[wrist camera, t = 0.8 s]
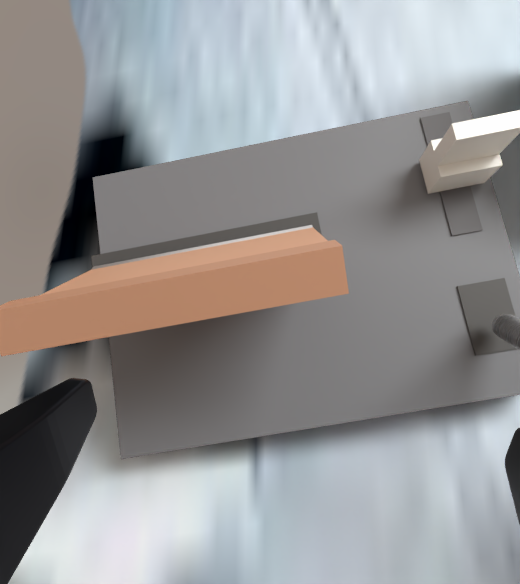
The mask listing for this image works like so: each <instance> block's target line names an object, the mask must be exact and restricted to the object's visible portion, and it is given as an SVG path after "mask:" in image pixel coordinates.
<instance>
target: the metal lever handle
mask: <svg viewBox="0 0 520 584" xmlns="http://www.w3.org/2000/svg"><path fill="white" fill-rule="evenodd" d="M492 330H493V332H494V333H495V334H496V335H497V336H498V337H500V338H501V339H503V340H504V341H506V342H507V343H509V344H510V345H512V346H513V347H515V348H517V349H518V350H520V319H519V318H517V317H515V316H513V315H511V314H501V315H499V316H497V317H496V318H495V319H494V320H493V322H492Z"/></svg>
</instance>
